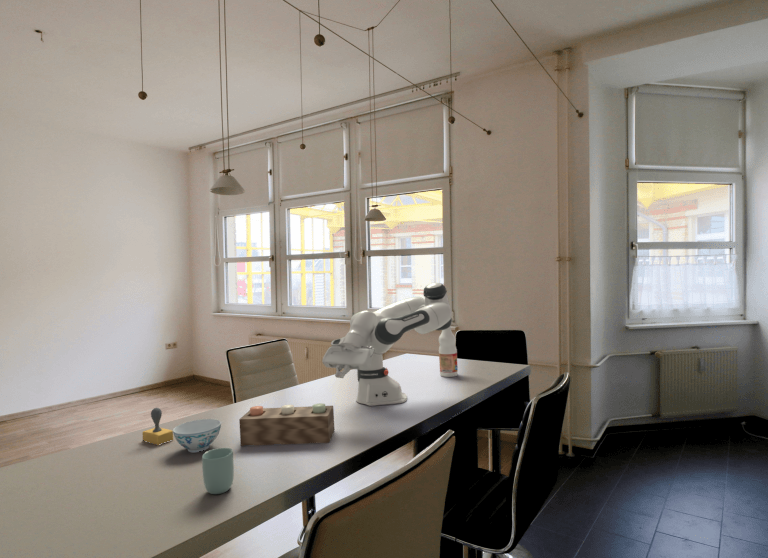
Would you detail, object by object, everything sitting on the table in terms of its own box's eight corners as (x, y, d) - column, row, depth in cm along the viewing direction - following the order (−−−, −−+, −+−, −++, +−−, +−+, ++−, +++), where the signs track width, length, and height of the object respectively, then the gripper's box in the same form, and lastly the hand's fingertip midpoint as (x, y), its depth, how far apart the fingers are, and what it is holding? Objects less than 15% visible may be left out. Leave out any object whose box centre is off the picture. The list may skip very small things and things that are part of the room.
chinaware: (175, 461, 142) (173, 437, 142) (173, 446, 155) (171, 424, 155) (225, 450, 149) (224, 427, 149) (219, 437, 162) (218, 415, 162)
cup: (208, 485, 124) (206, 449, 124) (238, 482, 125) (236, 446, 124) (199, 499, 116) (197, 460, 116) (230, 496, 117) (228, 457, 117)
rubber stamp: (142, 441, 162) (140, 408, 162) (157, 436, 167) (156, 404, 167) (158, 446, 157) (156, 411, 157) (173, 440, 162) (171, 407, 162)
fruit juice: (437, 374, 245) (435, 322, 244) (454, 372, 246) (451, 321, 246) (443, 378, 235) (440, 324, 235) (460, 376, 237) (457, 323, 237)
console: (334, 430, 163) (333, 405, 163) (329, 442, 151) (327, 415, 151) (252, 433, 165) (251, 408, 164) (240, 445, 153) (239, 419, 152)
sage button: (326, 412, 159) (326, 403, 159) (324, 416, 155) (324, 406, 155) (314, 413, 160) (313, 403, 160) (311, 417, 155) (311, 407, 155)
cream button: (295, 414, 160) (295, 404, 160) (292, 417, 156) (292, 408, 155) (283, 414, 160) (283, 404, 160) (280, 418, 156) (279, 408, 156)
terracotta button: (265, 415, 160) (264, 405, 160) (261, 419, 156) (260, 409, 156) (252, 415, 161) (252, 406, 161) (248, 419, 156) (248, 409, 156)
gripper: (379, 352, 169) (366, 384, 161) (336, 350, 180) (321, 380, 172) (372, 342, 166) (358, 373, 157) (328, 340, 176) (313, 370, 168)
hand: (338, 377), depth 165 cm, fingers closed
